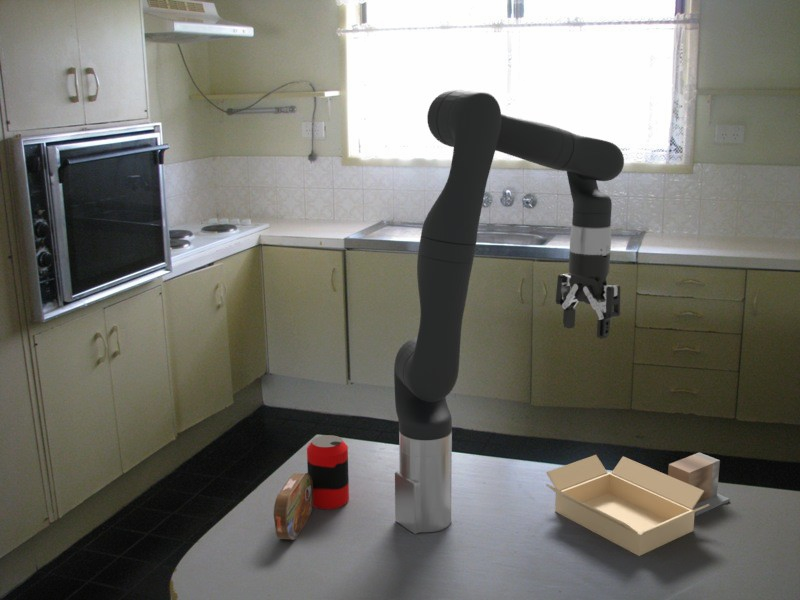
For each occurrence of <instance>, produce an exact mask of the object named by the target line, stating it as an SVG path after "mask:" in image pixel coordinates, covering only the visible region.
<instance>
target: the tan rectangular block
mask: <svg viewBox="0 0 800 600" xmlns="http://www.w3.org/2000/svg"><path fill="white" fill-rule="evenodd" d="M720 464H721V460H720V459H717V458H715V457H712V456H710V455H707V454H704V453H702V452H697V453H693V454H692V455H689V456H686V457H684V458H681V459H678V460H676V461H674V462H671V463H668V469H667V470H668V471H667V475H668V476H671V477H673V478H675V479H678V480H680V481H683V482H685V483H687V484H690V485H692V486H694V487H697V488H699V489H701V490H704V493H703V494H702V496H701V497H700V499H699V500H698V502H697V503H696V504H698V503H700V502H702V501H704V500H707V499H709V498H711V497H713V496H716V495H717V494H718V486H719V477H720V476H719V473H720Z"/></svg>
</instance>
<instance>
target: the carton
mask: <svg viewBox="0 0 800 600" xmlns="http://www.w3.org/2000/svg"><path fill="white" fill-rule="evenodd" d="M545 473H546V475H547V476H548V478H549V480H550V482H551V483H552V484H553V486H552V485H550V484H548V483H546V487H547V488H549V489H550V490H551V491H553V492H554V493H555V504H554V506H555V507H554V512H555V513H557V514H559V515H561V516H562V517H564V518H567V519H568V520H570V521H572V522H574V523H576V524H578V525H580V526H582V527H583V528H585V529H587V530H589V531H590V532H593V533H594V534H596V535H599V536H601V537H602V538H604V539H606V540H608V541H610V542H611V543H613V544H614V545H615V544H616V546H619V547H621V548H623V549H625V550H627V551H629V552H630V553H632V554H634V555H637V557H640V556H642V555H644V554H646V553H649V552H651V551H654V550H655V549H658V548H660V547H662V546H664V545H666V544H669V543H670V542H672V541H674V540H677V539H679V538H681V537H684V536H685V535H687V534H689V533H692V532H694V528H695V527H694V526H695V512H696V511H698V510H700V509H703V508H705V507H707V506H709V504H707V505H705V506H702V507H700V508H698V509H695V510H692V509H693V508H694V506H695V505H696V503H697V502H698V500H699V499H700V497H701V496H702V494H703V493H704V490H701V489H699V488H697V487H694V486H692V485H690V484H687V483H685V482H683V481H680V480H678V479H675V478H673V477H671V476H668V474H666V473H663V472H662V471H661V472H660V471H659V470H656V469H655V468H654V469H653V468H651V467H650V466H647V465H644V464H642V463H639V462H637V461H635V460H633V459H630V458H628V457H626V456H623V455H622V457H621V458H620V460H619V461H618V463H617V464H616V466H615V467H614V469H613V470H612V471H607V470H606V468H605V466H604V465H603V463H602V461H601V460H600V458H599V457H598V455H597V454H594V455H591V456H589V457H586V458H582V459H580V460H577V461H574V462H572V463H568V464H565V465H562V466H561V467H560V466H559V467H557V468H554V469H550V470H548V471H546V472H545Z"/></svg>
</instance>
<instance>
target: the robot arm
mask: <svg viewBox="0 0 800 600" xmlns="http://www.w3.org/2000/svg"><path fill="white" fill-rule="evenodd" d="M501 111H502V110H501V107H500V104H499V102H498V100H497V99H496V98H495V96H493V95H492V94H491V93H489V92H485V91H479V90H465V89H452V90H447V91H445V92H443V93H440V94H438V95H437V97H435V98H434V99H433V101H432V102H431V103H430V105H429V108H428V112H427V115H426V116H427V118H426V119H427V126H428V129H429V131H430V133H431V135H432V136H433V137H434V139H436V140H437V141H438V142H440V143H441V144H443V145H444V146H448V147H450V148H451V147H452V148H453V151H452V158H451V162H450V163H451V164H450V169H449V173H448V177H447V180H446V181H445V182H446V183H445V185H444V187H443V189H442V190H441V192H440V194H439V195H438V197H437V198H436V200H435V202H434V203H433V205H432V206H431V208H430V210H429V211H428V213H427V215H426V217H425V219H424V222H423V225H422V226H421V227H422V228H421V233H420V239H419V246H418V252H417V263H416V267H417V268H416V273H417V274H416V275H417V276H416V278H417V287H418V288H417V289H418V295H419V296H418V297H419V308H420V309H419V310H420V311H419V312H420V313H419V314H420V318H419V328H418V332H417V336H416V337H414V338H411V339H409V340H407V341H406V342H404V343H403V344H402V346H401V347H400V348H399V349H398V352H397V353H396V356H395V360H394V367H393V377H394V378H393V380H394V381H393V382H394V401H395V402H394V404H395V411H396V415H397V419H398V420H397V421H398V435H399V436H398V437H399V439H398V440H399V441H398V442H399V443H398V446H399V449H398V450H399V451H398V452H399V453H398V455H399V457H398V458H399V459H398V460H399V463H398V464H399V467H398V468H399V470H397V471H395V472H394V515H395V516H394V519H395V522H397V523H398V524H399V525H401V526H402V527H404V528H405V529H406V530H408V531H409V532H411V533H413V534H414V535H417V534H420V533H434V532H439V531H442V530H444V529H446V528H447V527H449V526H450V525H451V523H452V484H453V483H452V472H453V470H452V465H453V464H452V462H453V461H452V460H453V459H452V457H453V456H452V453H453V451H452V450H453V449H452V448H453V438H452V437H453V419H452V414H451V411H450V409H449V406H448V403H447V396H448V395H449V394H450V393H451V392H452V391H453V389H454V387H455V385H456V383H457V380H458V377H459V371H460V370H459V369H460V357H461V355H460V353H461V339H462V338H461V337H462V326H463V319H464V314H465V313H464V312H465V307H466V301H467V297H468V291H469V285H470V278H471V274H472V268H473V264H474V257H475V251H476V246H477V239H478V230H479V224H480V219H481V214H482V209H483V205H484V204H483V203H484V197H485V193H486V187H487V183H488V180H489V175H490V171H491V169H492V163H493V161H494V157H495V154H496V152H499V153H502V154H505V155H506V154H507V155H509V156H511V157H515V158H517V159H521V160H524V161H528V162H531V163H533V164H536V165H539V166H542V167H546V168H548V169H552V170H556V171H563V172H566V176H567V180H568V185H569V190H570V195H571V199H572V220H571V221H572V222H571V230H570V236H569V252H568V253H569V255H568V256H569V257H568V273H561V274H558V275H557V280H556V290H555V291H556V292H555V293H556V295H555V303H556V304H557V305H560V306H561V307H562V309H563V313H562V314H563V315H562V316H563V319H562V322H563V327H564V328H565V329H567V330H568V329H573V328H574V327H575V323H576V306H577V304H578V303H579V302H583V303H586V304H587V305H590V306H591V308H592V309H593V310H595V313H596V314H597V317H598V319H597V325H596V338H597V339H600V340H602V339H606V338H608V336H609V334H610V325H611V319H613V318H619V317H620V316H621V286H620V285H619V284H614V285H610V284H608V283H607V277H608V275H609V274H610V268H611V267H610V265H611V264H610V263H611V249H612V248H611V247H612V231H611V228H612V227H611V224H612V223H611V222H612V206H613V205H612V202H613V201H612V199H611V197H610V196H609V195H607V194H606V193H603V192H602V191H601V190H600V189H599V186H598V182H607V181H608V182H609V181H612V180H614V179H615V178H617V177H618V176H620V174H621V173H622V171H623V169H624V165H625V158H624V154H623V152H622V151H621V149H620V147H619V146H618V145H616V144H614V143H613V142H611V141H608V140H603V139H599V138H595V137H589V136H584V135H580V134H576V133H574V132H571V131H569V130H567V129H563V128H560V127H558V126H554V125H550V124H547V123H543V122H538V121H533V120H531V119H530V120H528V119H523V118H520V117H514V116H511V115H506V114H502V112H501ZM597 181H598V182H597ZM599 301H600V302H599Z"/></svg>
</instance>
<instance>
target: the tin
mask: <svg viewBox="0 0 800 600" xmlns="http://www.w3.org/2000/svg"><path fill="white" fill-rule="evenodd" d="M313 507H314V506H313V484H312V479H311V477H310V475H309V474H308V472H307V473H293V474H292V475H291V476H290V477H289V479H288V480H287V482H285V484H284V485H283V487H282V488H281V490H280V491H279V492H278V494H277V495H276V498H275V502H274V506H273V520H274V528H275V535H276V536H277V538H278V539H281V540H292V541H294V540H296V539H297V538H298V536H299V534H301V531H302V530H303V528H304V526H305V525H306V523H307V522H308V520H309V518H310V517H311V513H312V511H313Z"/></svg>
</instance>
